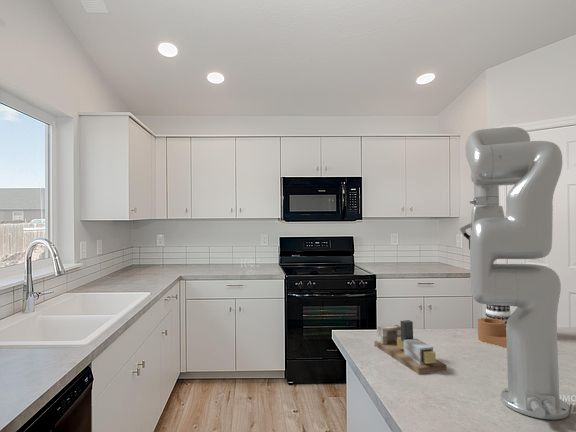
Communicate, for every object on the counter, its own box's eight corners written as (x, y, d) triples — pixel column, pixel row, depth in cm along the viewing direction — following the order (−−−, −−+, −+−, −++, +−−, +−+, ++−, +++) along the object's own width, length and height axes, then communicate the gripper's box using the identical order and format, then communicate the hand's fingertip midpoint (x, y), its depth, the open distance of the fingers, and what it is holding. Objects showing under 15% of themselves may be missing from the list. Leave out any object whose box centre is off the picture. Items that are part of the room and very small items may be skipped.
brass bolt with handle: (436, 362, 99) (435, 331, 99) (426, 363, 98) (425, 332, 99) (405, 345, 114) (404, 318, 114) (396, 346, 113) (396, 318, 113)
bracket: (474, 340, 125) (473, 320, 125) (485, 335, 129) (484, 316, 130) (532, 354, 110) (531, 332, 110) (542, 349, 115) (541, 327, 115)
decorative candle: (507, 339, 124) (504, 268, 125) (480, 333, 132) (477, 265, 133) (518, 334, 130) (515, 265, 130) (491, 328, 137) (489, 263, 138)
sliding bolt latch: (446, 370, 99) (445, 346, 100) (418, 374, 97) (418, 349, 97) (397, 342, 123) (397, 323, 123) (374, 345, 121) (374, 325, 121)
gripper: (460, 203, 122) (462, 252, 122) (518, 201, 117) (520, 253, 116) (457, 204, 129) (459, 251, 129) (512, 202, 124) (514, 251, 123)
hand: (488, 251), depth 122 cm, fingers open, 9 cm apart
